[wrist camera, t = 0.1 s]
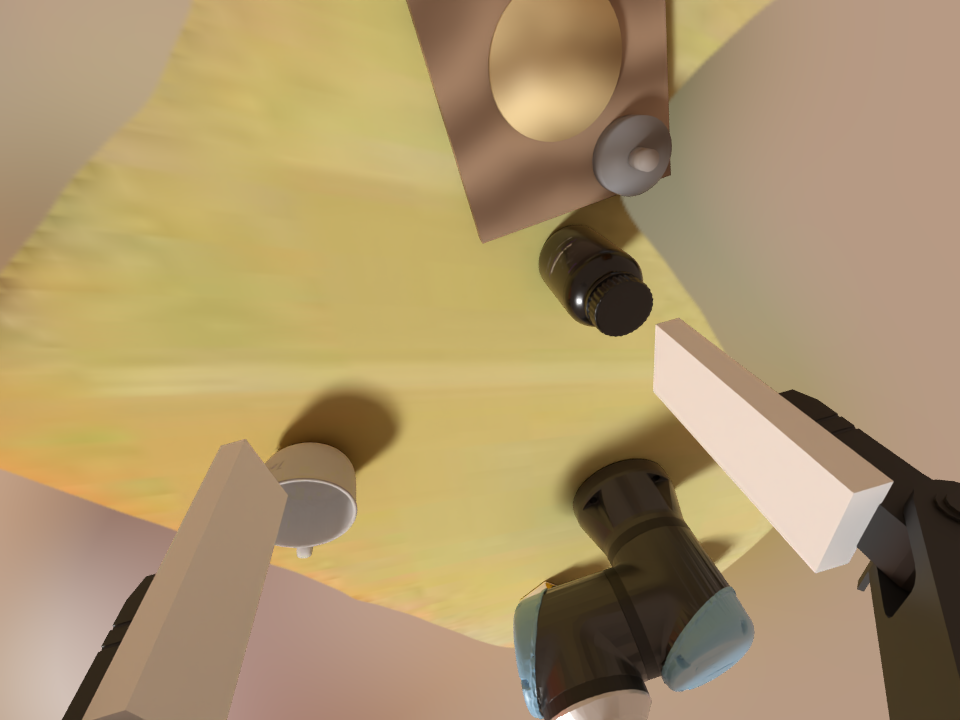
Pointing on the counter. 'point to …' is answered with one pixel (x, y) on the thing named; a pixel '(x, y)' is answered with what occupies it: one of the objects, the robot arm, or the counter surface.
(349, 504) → the teacup
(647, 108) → the board
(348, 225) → the counter surface
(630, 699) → the robot arm
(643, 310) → the supplement bottle
